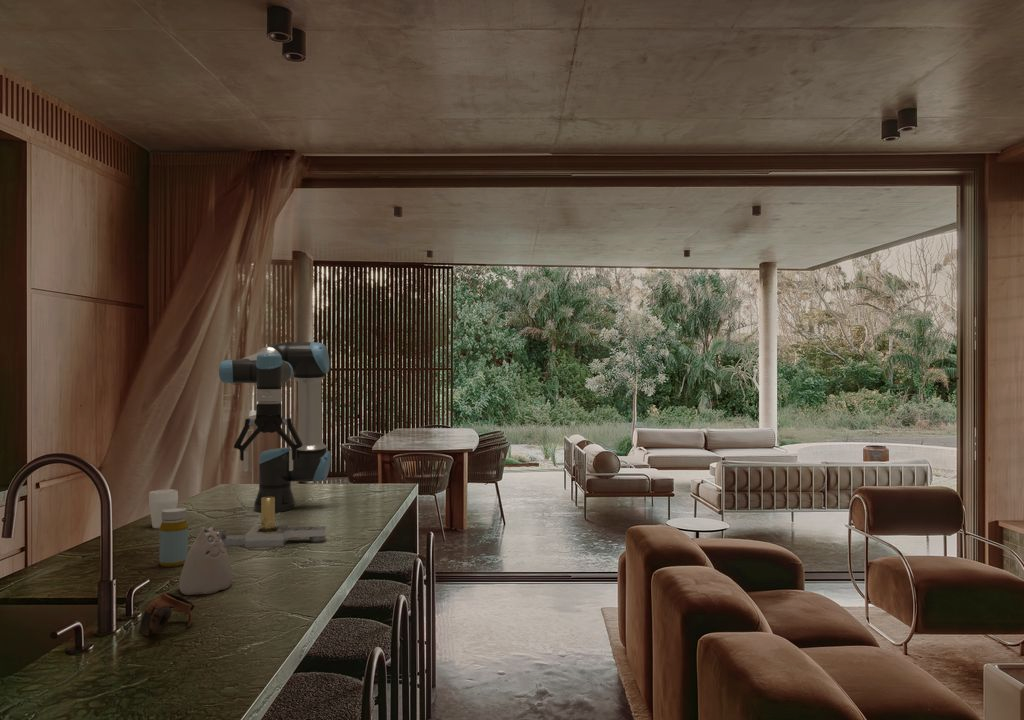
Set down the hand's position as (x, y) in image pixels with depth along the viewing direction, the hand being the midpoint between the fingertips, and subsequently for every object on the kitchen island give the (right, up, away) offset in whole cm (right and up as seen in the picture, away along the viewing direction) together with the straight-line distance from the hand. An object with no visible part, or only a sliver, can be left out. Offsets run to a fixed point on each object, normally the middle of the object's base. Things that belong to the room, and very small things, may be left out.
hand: (268, 470), depth 214 cm
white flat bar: (0, -22, 0) cm, 22 cm away
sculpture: (+1, -22, -45) cm, 50 cm away
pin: (0, -22, 0) cm, 22 cm away
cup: (-44, -23, +21) cm, 54 cm away
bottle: (-18, -22, -24) cm, 37 cm away
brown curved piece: (+4, -22, -72) cm, 76 cm away
